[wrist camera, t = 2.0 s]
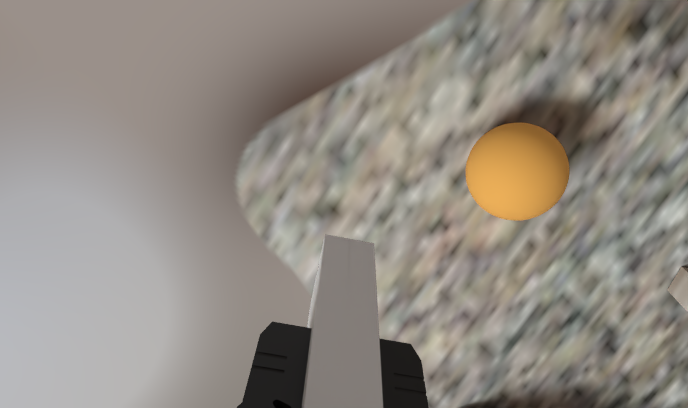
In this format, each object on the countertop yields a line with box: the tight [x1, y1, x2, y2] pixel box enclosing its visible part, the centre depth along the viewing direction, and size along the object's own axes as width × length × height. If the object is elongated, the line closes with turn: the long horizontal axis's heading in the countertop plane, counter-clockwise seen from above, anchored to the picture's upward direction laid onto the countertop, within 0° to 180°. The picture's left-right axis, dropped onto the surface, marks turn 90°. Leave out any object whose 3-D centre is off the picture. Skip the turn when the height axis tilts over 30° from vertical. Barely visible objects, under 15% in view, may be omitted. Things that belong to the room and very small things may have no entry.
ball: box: [466, 123, 569, 220], centre depth 28 cm, size 6×6×6 cm
